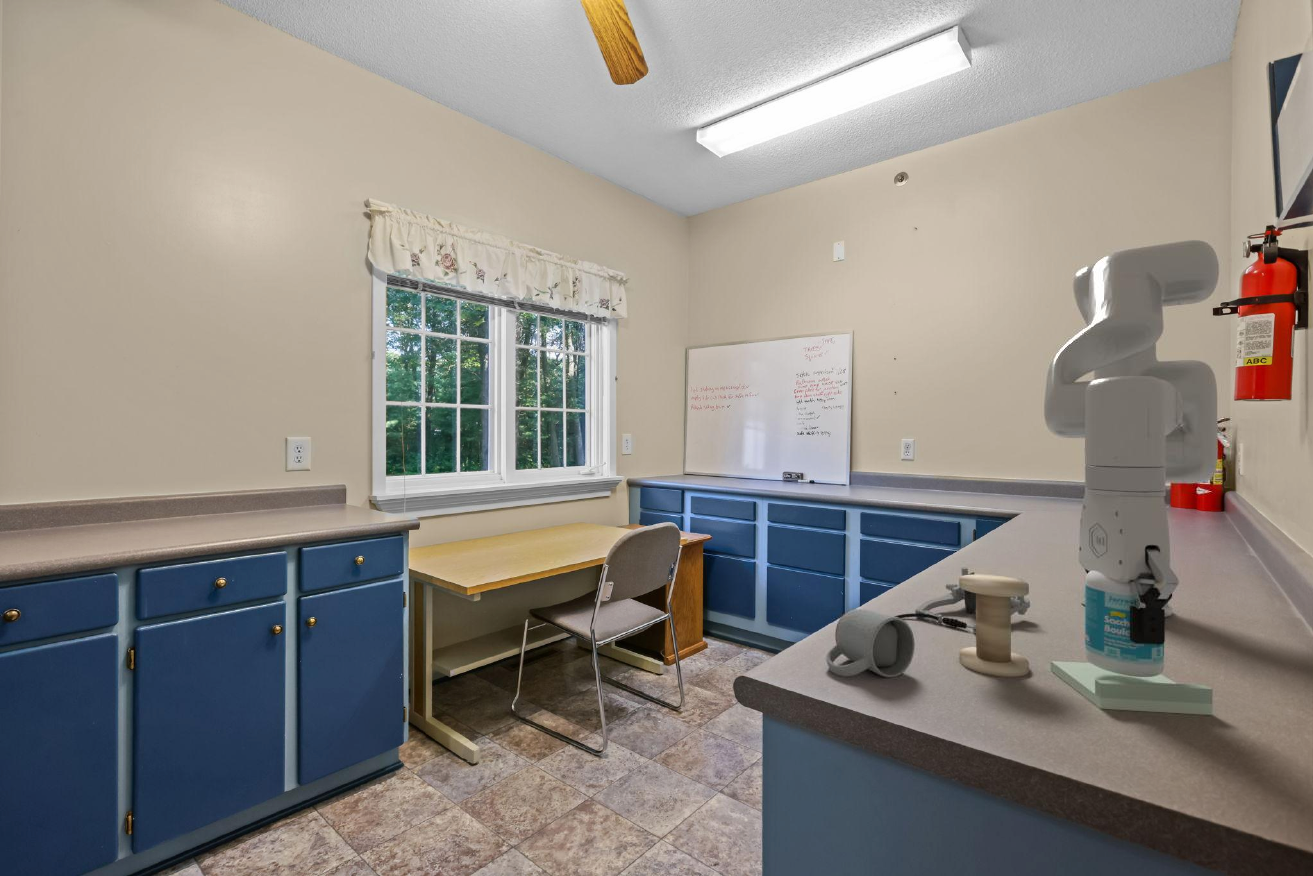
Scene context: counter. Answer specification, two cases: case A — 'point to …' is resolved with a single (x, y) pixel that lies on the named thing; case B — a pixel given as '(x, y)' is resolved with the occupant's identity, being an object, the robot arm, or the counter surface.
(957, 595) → the bike brake
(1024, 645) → the counter surface
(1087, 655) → the pill bottle
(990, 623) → the bobbin
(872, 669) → the ceramic mug
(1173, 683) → the board
